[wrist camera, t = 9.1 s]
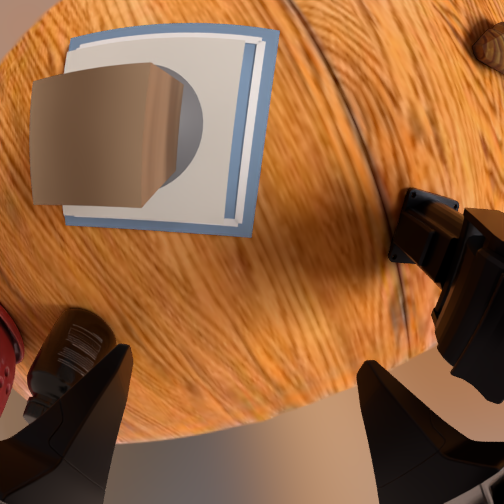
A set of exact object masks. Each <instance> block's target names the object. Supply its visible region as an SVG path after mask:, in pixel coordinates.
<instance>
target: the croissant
mask: <svg viewBox="0 0 504 504" xmlns="http://www.w3.org/2000/svg"><path fill="white" fill-rule="evenodd" d="M473 52H474V55H475V56H476V58H477V59H478V60H479V61H481V62H482V63H484V64H486V65H488V66H490V67H492V68H494V69H496V70H497V71H499V72H501V73H502V74H504V22H500V23H497V24H495V26H494V27H493V29H488V30H487V31H486V32H485V33H484V34H483V35H482V36H481V37H480V38H479V39H478V41H477V42H476V43H475V44H474V45H473Z"/></svg>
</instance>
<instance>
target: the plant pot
mask: <svg viewBox="0 0 504 504" xmlns="http://www.w3.org/2000/svg"><path fill="white" fill-rule="evenodd" d="M23 358H24V344H23V340H22V337H21V335H20V332H19V330H18V328H17V326H16V325H15V323H14V321H13V320H12V318H11V317H10V315H9V314H8V313H7V312H6V310H5V309H4V308H3V307H2V306H1V305H0V417H1V414H2V412H3V410H4V408H5V405H6V403H7V400H8V397H9V395H10V392H11V389H12V385H13V381H14V376H15V366H16V364H18V363H20V362H21V361H22V360H23Z"/></svg>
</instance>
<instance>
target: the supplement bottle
mask: <svg viewBox="0 0 504 504" xmlns="http://www.w3.org/2000/svg"><path fill="white" fill-rule="evenodd" d="M116 346H117V342H116V338H115V335H114V333H113V331H112V330H111V328H110V327H109V326H108V325H107V324H106V323H105V322H104V321H103V320H102V319H101V318H99V317H98V316H96V315H95V314H93V313H91V312H89V311H86V310H83V309H77V308H73V309H68V310H66V311H64V312H63V313H62V314H61V315H60V316H59V318H58V319H57V321H56V323H55V324H54V326H53V328H52V329H51V331H50V333H49V334H48V336H47V338H46V340H45V341H44V343H43V345H42V347H41V349H40V351H39V352H38V354H37V356H36V358H35V360H34V362H33V364H32V366H31V368H30V370H29V372H28V375H27V384H28V387H29V390H30V392H31V394H32V395H33V397H29V399H28V401H27V406H26V408H25V411H24V414H23V417H24V418H25V420H26V421H27V422H28V423H29V424H30V423H32V422H33V421H34V420H36V419H37V418H38V417H40V416H41V415H42V414H43V413H45V412H46V411H47V410H48V409H49V408H50V407H51V406H52V405H53V404H54V403H55V402H56V401H58V400H60V398H61V397H62V396H63V395H64V394H65V393H66V392H67V391H68V390H69V389H70V388H71V387H72V386H73V385H75V384H76V383H77V382H78V381H79V380H80V379H81V378H82V377H83V376H84V375H85V374H86V373H87V372H88V371H90V370H91V369H92V368H93V367H94V366H95V365H96V364H97V363H98V362H99V361H100V360H101V359H102V358H104V357H105V356H106V355H107V354H108V353H109V352H110V351H111V350H112V349H113V348H114V347H116Z"/></svg>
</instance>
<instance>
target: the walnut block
mask: <svg viewBox="0 0 504 504" xmlns="http://www.w3.org/2000/svg"><path fill="white" fill-rule="evenodd" d="M183 88H184V84H182V83H181V82H179V81H178V80H177V79H175V78H174V77H172V76H171V75H169V74H168V73H166V72H165V71H163V70H162V69H160V68H159V67H157V66H156V65H154V64H153V63H151V62H147V63H133V64H122V65H113V66H105V67H98V68H91V69H85V70H80V71H74V72H69V73H65V74H60V75H56V76H52V77H48V78H44V79H40V80H37V81H33V87H32V96H31V109H30V135H29V146H30V172H31V186H32V196H33V204H34V205H75V206H105V207H128V208H142V207H143V206H144V205H145V204H146V202H147V201H148V200H149V199H150V198H151V197H152V196H153V195H154V194H155V192H156V191H157V190H158V189H159V188H160V187H161V186H162V185H163V184H164V183H165V182H166V181H167V180H168V179H169V177H170V176H171V175H172V174H173V173H174V172H175V171H176V161H177V147H178V135H179V124H180V114H181V105H182V96H183Z"/></svg>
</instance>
